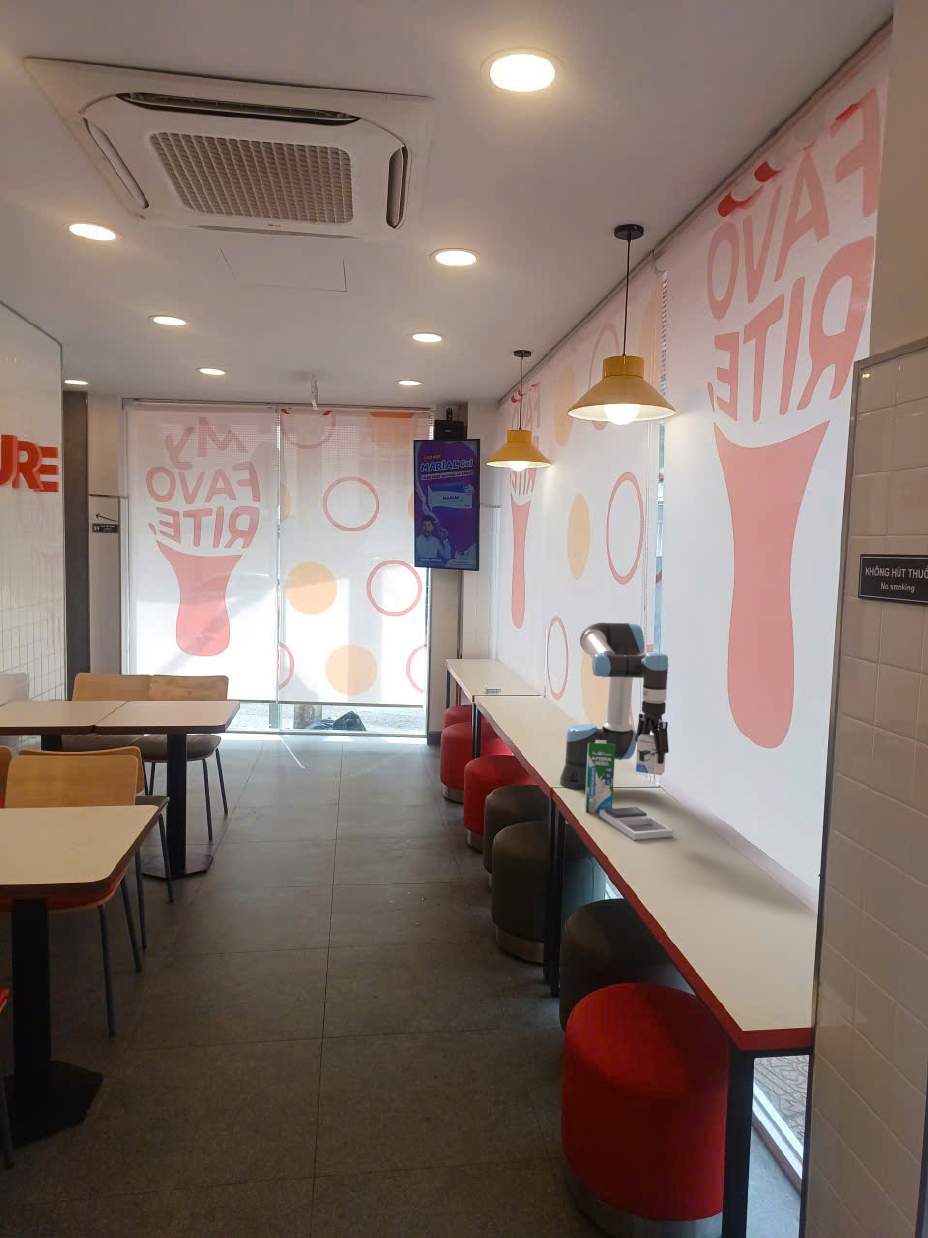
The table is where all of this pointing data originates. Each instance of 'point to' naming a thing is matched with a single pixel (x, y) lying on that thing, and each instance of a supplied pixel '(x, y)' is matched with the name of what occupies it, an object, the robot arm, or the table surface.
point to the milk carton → (599, 776)
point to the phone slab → (625, 812)
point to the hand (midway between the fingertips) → (650, 768)
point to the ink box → (647, 754)
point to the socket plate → (638, 827)
